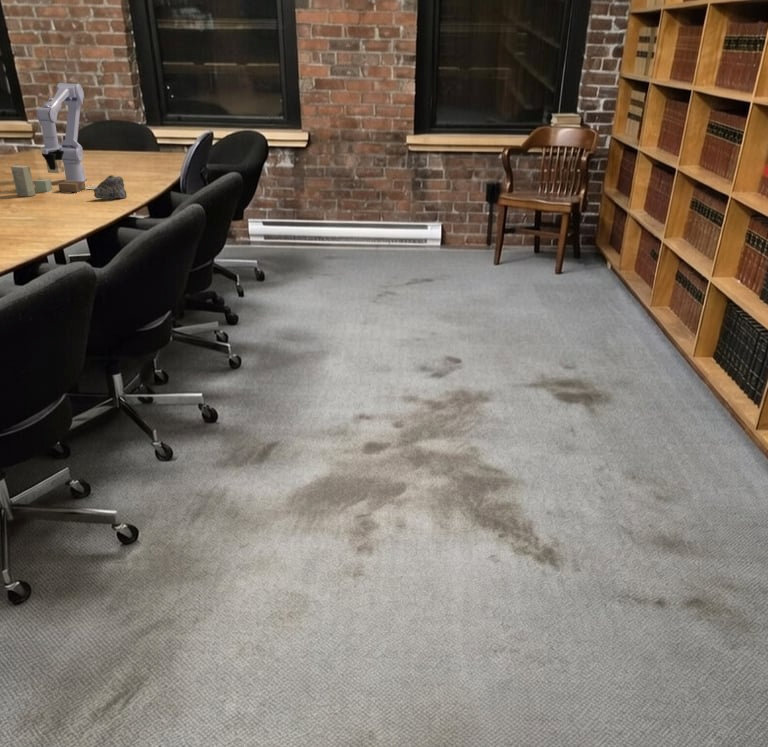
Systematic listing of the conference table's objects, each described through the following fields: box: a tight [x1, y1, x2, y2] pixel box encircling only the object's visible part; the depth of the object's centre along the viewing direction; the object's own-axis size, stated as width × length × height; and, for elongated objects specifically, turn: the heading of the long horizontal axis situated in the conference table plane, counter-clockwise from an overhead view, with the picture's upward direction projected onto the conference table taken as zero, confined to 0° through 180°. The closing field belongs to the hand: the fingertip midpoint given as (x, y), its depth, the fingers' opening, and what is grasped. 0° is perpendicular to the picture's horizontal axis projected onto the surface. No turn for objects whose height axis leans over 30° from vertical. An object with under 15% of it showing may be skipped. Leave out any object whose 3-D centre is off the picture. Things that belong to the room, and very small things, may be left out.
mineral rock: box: [92, 174, 128, 200], centre depth 283 cm, size 13×11×10 cm
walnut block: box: [58, 180, 87, 194], centre depth 295 cm, size 8×8×4 cm
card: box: [85, 184, 97, 190], centre depth 304 cm, size 10×7×1 cm
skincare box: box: [10, 164, 36, 197], centre depth 281 cm, size 6×4×12 cm
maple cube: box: [45, 160, 65, 174], centre depth 296 cm, size 5×5×5 cm
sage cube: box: [33, 178, 53, 193], centre depth 291 cm, size 5×5×5 cm
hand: (55, 168), depth 297 cm, fingers closed on maple cube, 5 cm apart
